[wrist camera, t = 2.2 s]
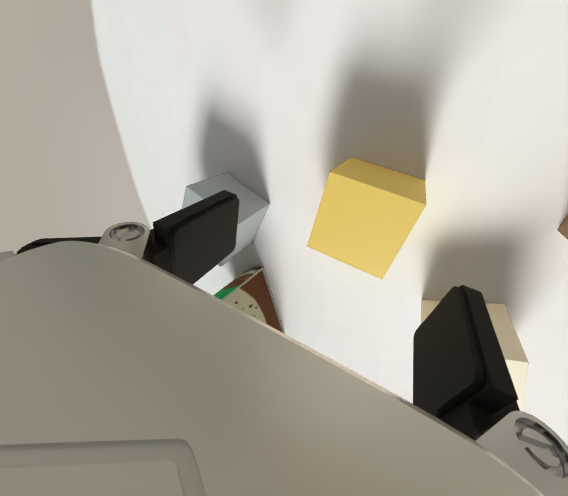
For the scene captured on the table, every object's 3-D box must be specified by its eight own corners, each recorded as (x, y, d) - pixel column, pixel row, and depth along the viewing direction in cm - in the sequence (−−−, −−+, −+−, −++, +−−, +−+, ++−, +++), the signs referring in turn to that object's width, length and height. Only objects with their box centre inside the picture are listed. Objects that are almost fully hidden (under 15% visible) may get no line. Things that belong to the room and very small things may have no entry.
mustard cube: (425, 179, 15) (426, 204, 12) (390, 242, 18) (382, 279, 15) (350, 156, 17) (329, 171, 13) (329, 218, 20) (307, 246, 16)
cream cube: (503, 303, 17) (528, 362, 13) (500, 355, 19) (520, 421, 15) (421, 299, 19) (421, 347, 16) (425, 345, 21) (425, 398, 17)
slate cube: (270, 203, 22) (237, 224, 18) (252, 241, 25) (220, 266, 21) (227, 172, 22) (186, 186, 18) (214, 213, 25) (177, 232, 21)
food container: (216, 254, 28) (138, 311, 20) (259, 254, 25) (186, 320, 17) (248, 334, 33) (194, 404, 25) (287, 342, 30) (240, 425, 22)
